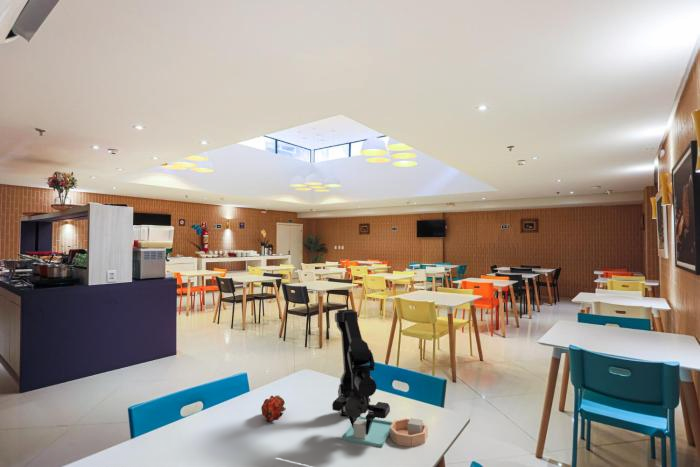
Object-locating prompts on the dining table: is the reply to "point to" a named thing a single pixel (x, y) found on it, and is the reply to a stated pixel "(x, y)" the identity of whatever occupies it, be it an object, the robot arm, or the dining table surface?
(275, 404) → the dragon fruit
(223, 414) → the dining table surface
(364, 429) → the grey cardboard cube
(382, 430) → the tray
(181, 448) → the dining table surface
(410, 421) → the cube
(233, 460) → the dining table surface
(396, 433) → the bowl
